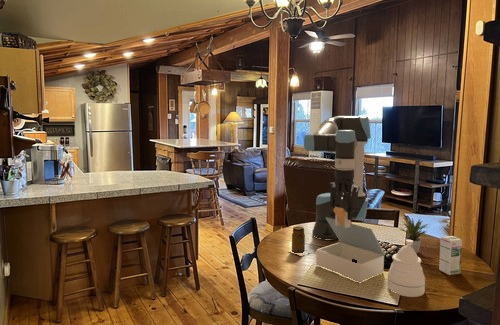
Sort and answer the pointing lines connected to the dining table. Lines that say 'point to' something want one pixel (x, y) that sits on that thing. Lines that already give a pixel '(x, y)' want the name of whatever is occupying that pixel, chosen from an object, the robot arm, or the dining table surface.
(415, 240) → the house plant
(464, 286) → the dining table surface
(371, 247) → the lid
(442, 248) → the syrup box
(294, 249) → the condiment
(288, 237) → the dining table surface
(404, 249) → the honey pot
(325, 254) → the mailer box
